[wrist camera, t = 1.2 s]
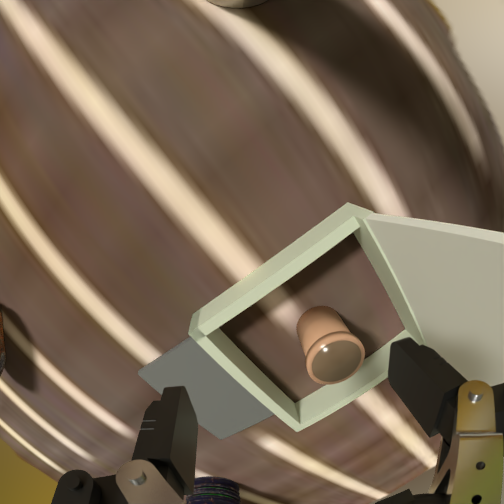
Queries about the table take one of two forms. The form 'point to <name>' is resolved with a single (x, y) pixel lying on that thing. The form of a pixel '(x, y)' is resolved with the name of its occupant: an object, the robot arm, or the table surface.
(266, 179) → the table surface
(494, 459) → the robot arm
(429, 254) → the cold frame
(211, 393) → the slate mat
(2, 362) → the tin
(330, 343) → the pot
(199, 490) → the storage jar
